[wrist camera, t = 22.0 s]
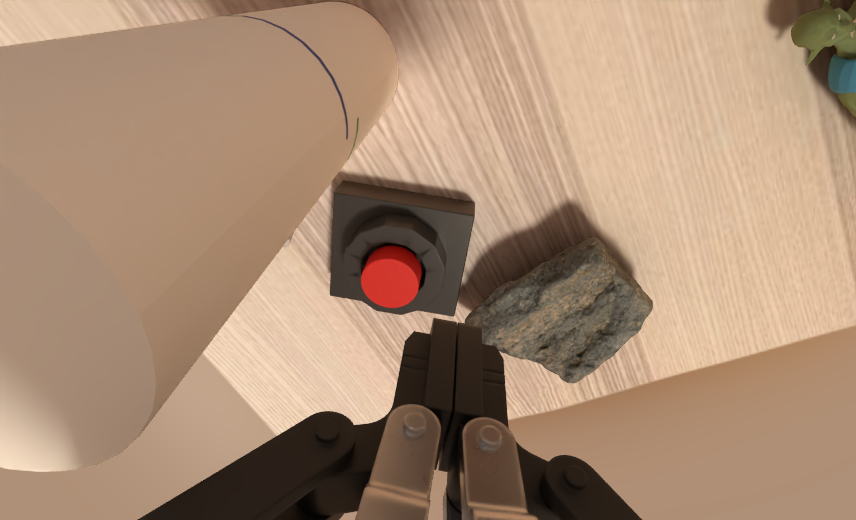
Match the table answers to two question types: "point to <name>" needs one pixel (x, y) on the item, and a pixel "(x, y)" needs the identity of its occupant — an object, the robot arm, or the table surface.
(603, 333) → the rock
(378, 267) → the button
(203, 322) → the cylindrical container
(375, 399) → the table surface
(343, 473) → the robot arm
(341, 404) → the table surface
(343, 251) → the control block
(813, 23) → the figurine
